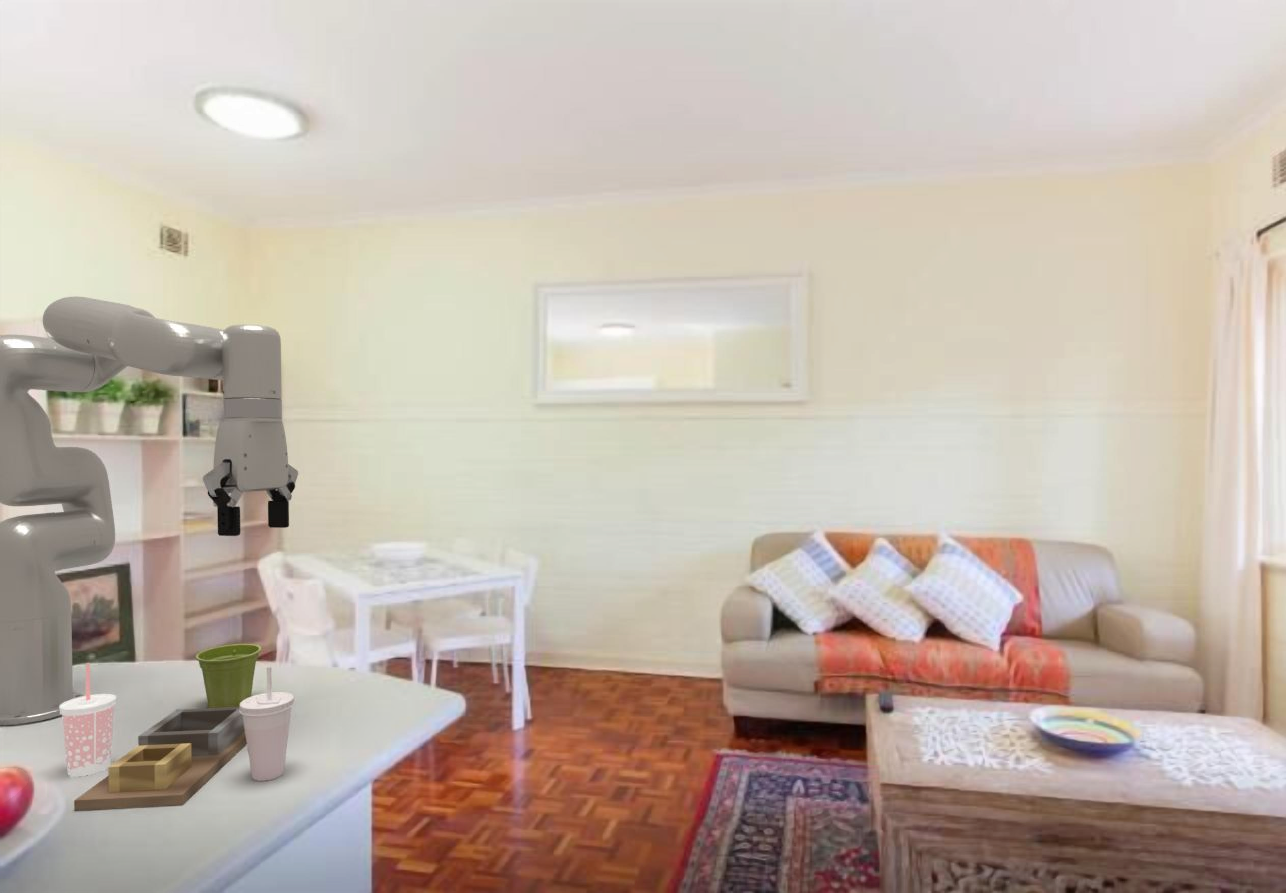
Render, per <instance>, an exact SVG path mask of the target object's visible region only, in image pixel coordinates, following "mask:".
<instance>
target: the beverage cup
mask: <svg viewBox="0 0 1286 893" xmlns="http://www.w3.org/2000/svg"><path fill="white" fill-rule="evenodd" d="M84 667H85V670H84V671H85V695H84V696H82V697H78V698H74V699H71V700H68V701H66V702H64V703H62V704H61V705H59V709H60V714H62V715H61V716H62V726H63V735H64V736H63V737H64V746H65V747H64V749H65V759H66V760H65V761H66V767H67V768H66V769H67V775H68V776H69V775H70V776H69V777H71V776H82V777H87V776H86V775H88V776H91V775H90V774H93V775H95V774H94V773H96V774H99V773H101V772H100V771H102V772H104V771H106V770H107V768H108V767H109V766H111V765H112V761H111V760H112V744H113V743H112V742H113V740H112V739H113V725H114V710H115V709H114V707H115V705H117V702H116V701H117V695H116V694H112V693H96V694H91V663H90V662H87V663H85V666H84ZM105 769H106V770H105ZM108 769H109V768H108ZM103 770H104V771H103ZM98 772H99V773H98Z"/></svg>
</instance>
